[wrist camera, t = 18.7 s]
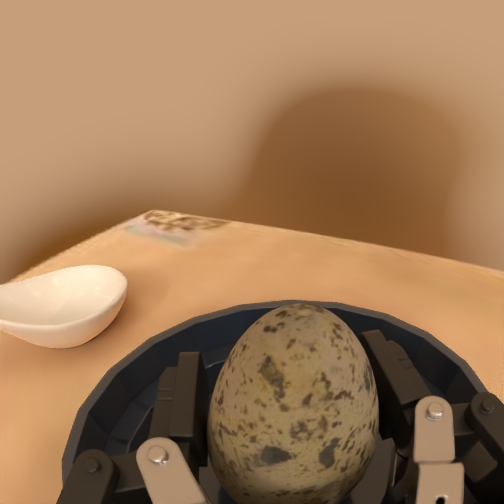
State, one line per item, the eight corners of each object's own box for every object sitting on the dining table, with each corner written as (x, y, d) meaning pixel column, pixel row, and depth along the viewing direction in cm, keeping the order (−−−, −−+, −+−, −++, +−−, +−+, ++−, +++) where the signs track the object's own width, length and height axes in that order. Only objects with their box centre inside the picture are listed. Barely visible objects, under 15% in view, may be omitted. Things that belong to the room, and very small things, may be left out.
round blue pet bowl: (389, 340, 20) (402, 283, 18) (493, 551, 3) (558, 519, 1) (140, 367, 19) (119, 312, 17) (102, 613, 3) (35, 607, 1)
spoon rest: (108, 281, 31) (91, 221, 28) (161, 326, 24) (140, 247, 20) (-55, 364, 15) (-87, 306, 12) (-54, 442, 8) (-110, 375, 5)
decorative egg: (204, 458, 12) (143, 291, 8) (306, 412, 14) (319, 240, 10) (262, 552, 7) (234, 493, 3) (375, 486, 9) (473, 324, 5)
